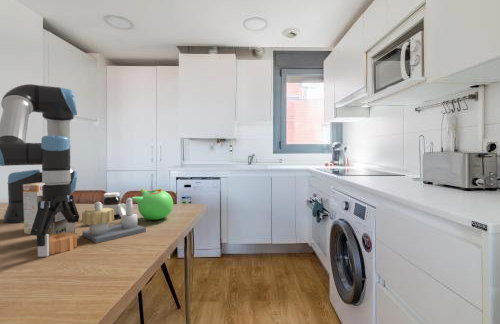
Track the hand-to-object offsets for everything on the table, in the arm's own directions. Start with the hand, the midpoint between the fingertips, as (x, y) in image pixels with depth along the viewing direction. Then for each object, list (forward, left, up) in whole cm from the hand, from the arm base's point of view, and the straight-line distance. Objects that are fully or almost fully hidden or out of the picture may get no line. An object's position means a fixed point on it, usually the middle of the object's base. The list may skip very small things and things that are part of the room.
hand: (58, 248), depth 85 cm
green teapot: (-12, +41, 0) cm, 43 cm away
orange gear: (0, 0, 0) cm, 0 cm away
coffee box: (-14, +2, 0) cm, 14 cm away
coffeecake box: (-31, +4, 0) cm, 31 cm away
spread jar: (-31, +31, 0) cm, 44 cm away
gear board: (-3, +19, 0) cm, 19 cm away
